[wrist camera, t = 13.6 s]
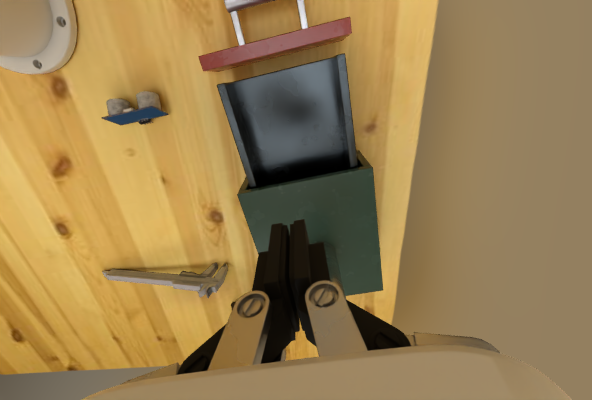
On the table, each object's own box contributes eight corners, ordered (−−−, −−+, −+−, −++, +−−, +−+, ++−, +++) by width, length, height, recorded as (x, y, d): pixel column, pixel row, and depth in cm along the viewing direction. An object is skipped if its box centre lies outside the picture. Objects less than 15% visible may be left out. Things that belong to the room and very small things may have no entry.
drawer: (198, 9, 24) (177, -4, 20) (334, -29, 23) (343, -52, 19) (258, 197, 33) (252, 215, 29) (358, 177, 32) (367, 193, 28)
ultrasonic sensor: (169, 100, 30) (149, 88, 26) (172, 119, 30) (153, 109, 26) (123, 111, 30) (98, 100, 27) (126, 129, 30) (102, 121, 27)
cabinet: (247, 173, 33) (236, 194, 27) (358, 150, 31) (372, 167, 26) (279, 272, 41) (276, 306, 35) (370, 258, 39) (383, 290, 33)
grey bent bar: (227, 261, 40) (216, 292, 34) (229, 266, 40) (218, 298, 34) (103, 269, 40) (72, 300, 35) (106, 274, 41) (76, 306, 35)
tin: (300, 244, 30) (300, 293, 23) (333, 238, 30) (343, 286, 23) (306, 269, 32) (309, 321, 25) (338, 264, 31) (349, 315, 25)
